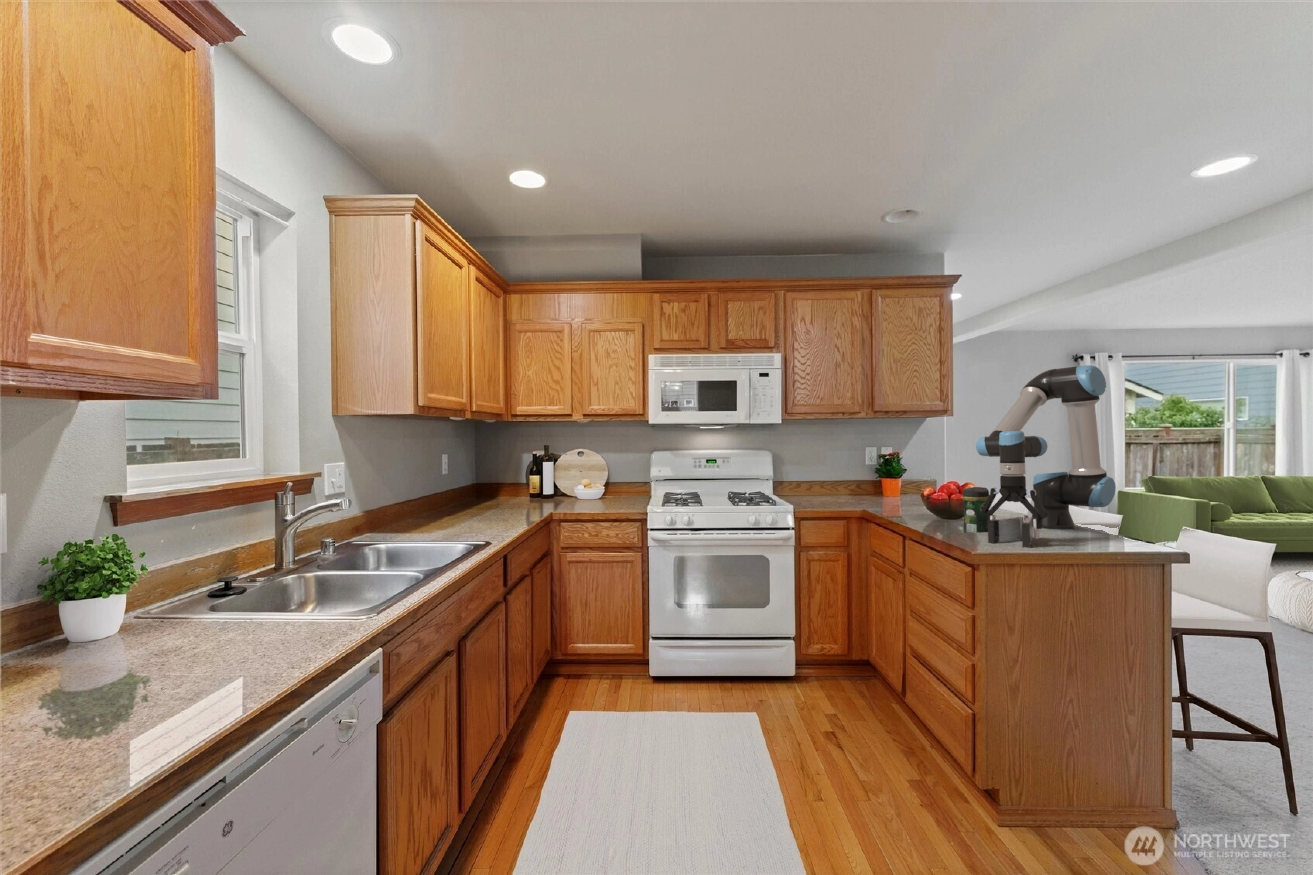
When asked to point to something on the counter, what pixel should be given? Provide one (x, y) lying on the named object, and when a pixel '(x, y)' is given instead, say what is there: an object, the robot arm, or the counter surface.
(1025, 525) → the grey flat box
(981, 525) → the coffee jar
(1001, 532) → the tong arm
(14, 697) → the counter surface
